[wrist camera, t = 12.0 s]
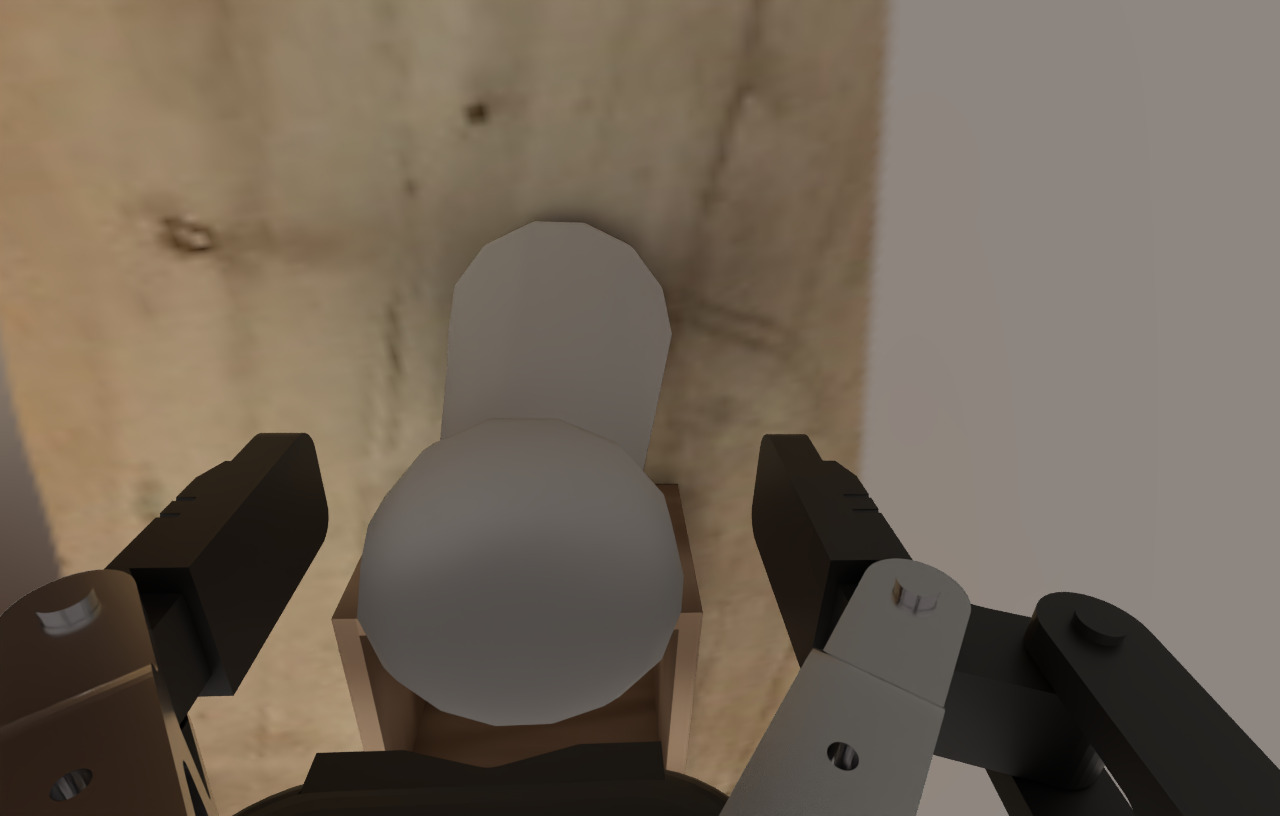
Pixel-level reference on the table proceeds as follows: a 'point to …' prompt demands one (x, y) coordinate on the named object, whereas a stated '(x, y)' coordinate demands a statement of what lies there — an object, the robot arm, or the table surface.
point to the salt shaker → (533, 492)
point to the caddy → (635, 716)
